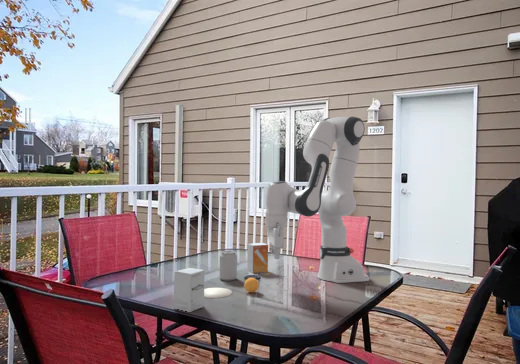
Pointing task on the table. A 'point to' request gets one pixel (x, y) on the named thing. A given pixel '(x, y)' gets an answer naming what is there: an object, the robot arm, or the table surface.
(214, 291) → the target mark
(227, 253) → the can
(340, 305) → the table surface
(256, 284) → the ball
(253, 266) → the small box
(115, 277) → the table surface
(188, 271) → the supplement box
